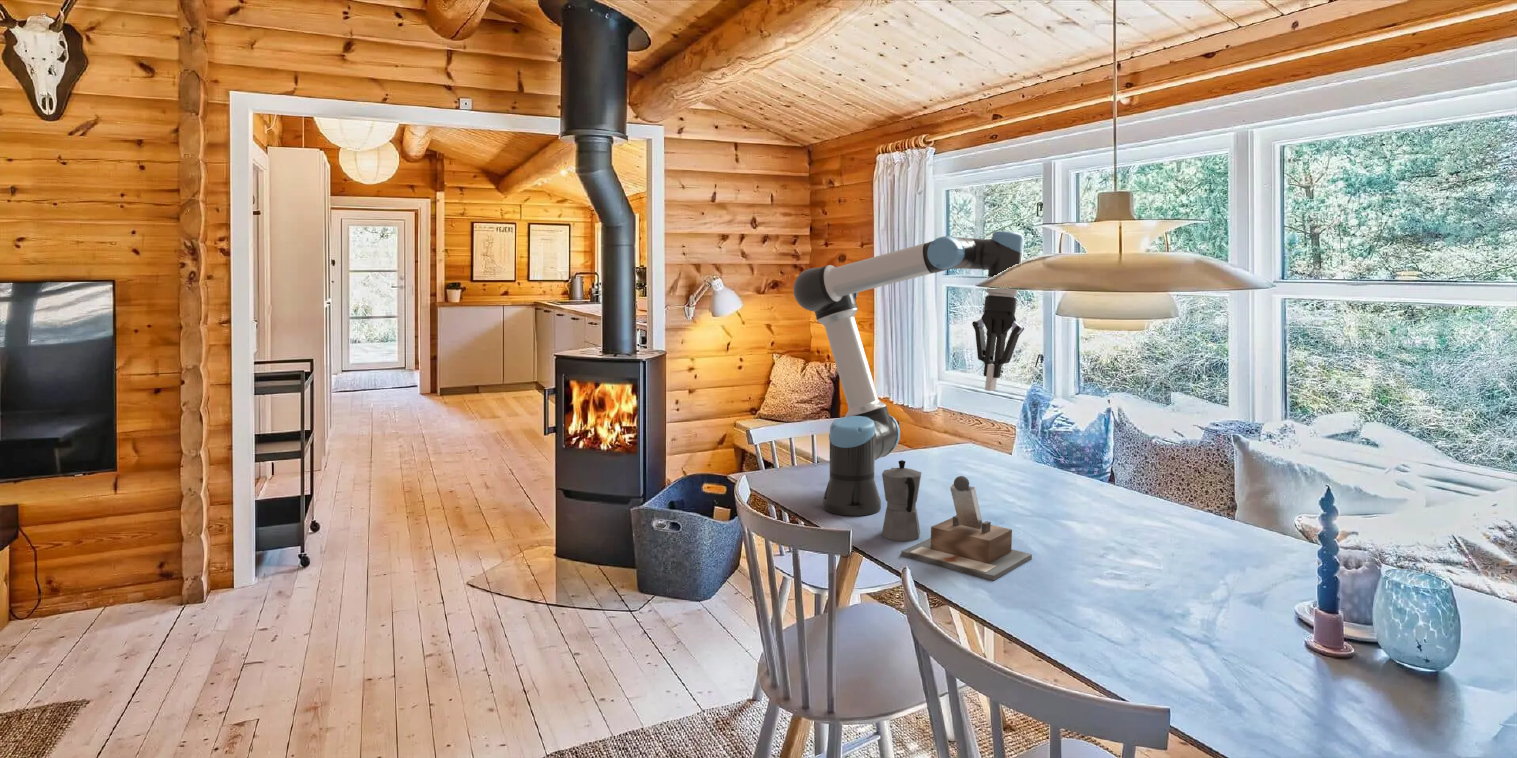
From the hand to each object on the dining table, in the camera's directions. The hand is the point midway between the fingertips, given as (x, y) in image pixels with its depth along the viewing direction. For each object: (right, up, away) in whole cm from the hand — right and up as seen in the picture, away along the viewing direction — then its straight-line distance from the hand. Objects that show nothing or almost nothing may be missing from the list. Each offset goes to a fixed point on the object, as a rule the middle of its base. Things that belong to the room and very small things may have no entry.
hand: (990, 390), depth 206 cm
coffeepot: (-24, -34, -12) cm, 44 cm away
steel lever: (-11, -29, -26) cm, 41 cm away
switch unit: (-13, -36, -26) cm, 46 cm away
